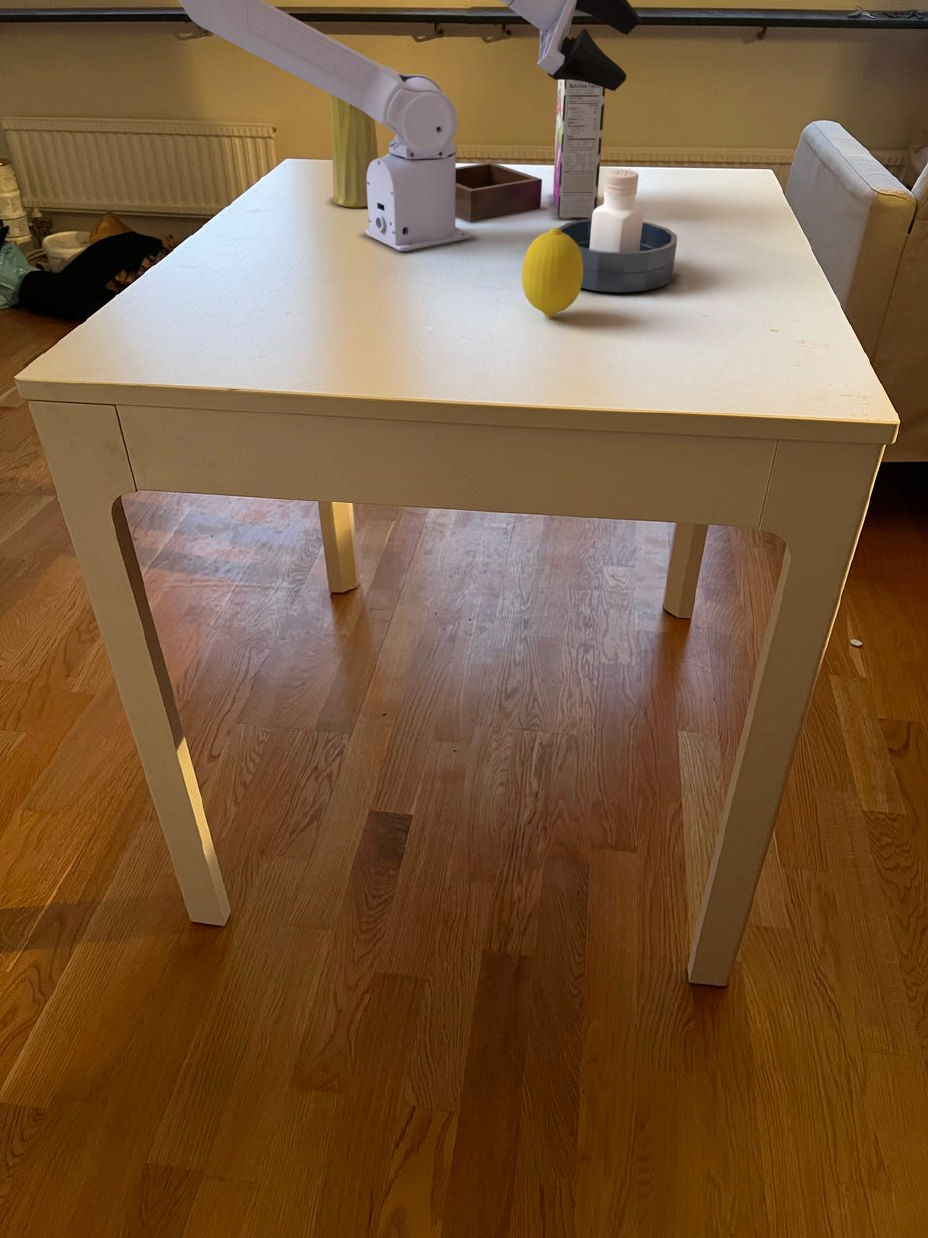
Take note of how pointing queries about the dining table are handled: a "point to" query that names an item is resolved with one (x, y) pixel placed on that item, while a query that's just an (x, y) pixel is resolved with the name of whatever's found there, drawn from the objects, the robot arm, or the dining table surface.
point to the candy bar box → (577, 148)
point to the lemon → (552, 272)
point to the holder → (494, 192)
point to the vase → (351, 152)
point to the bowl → (625, 259)
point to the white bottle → (617, 214)
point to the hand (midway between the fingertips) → (627, 54)
